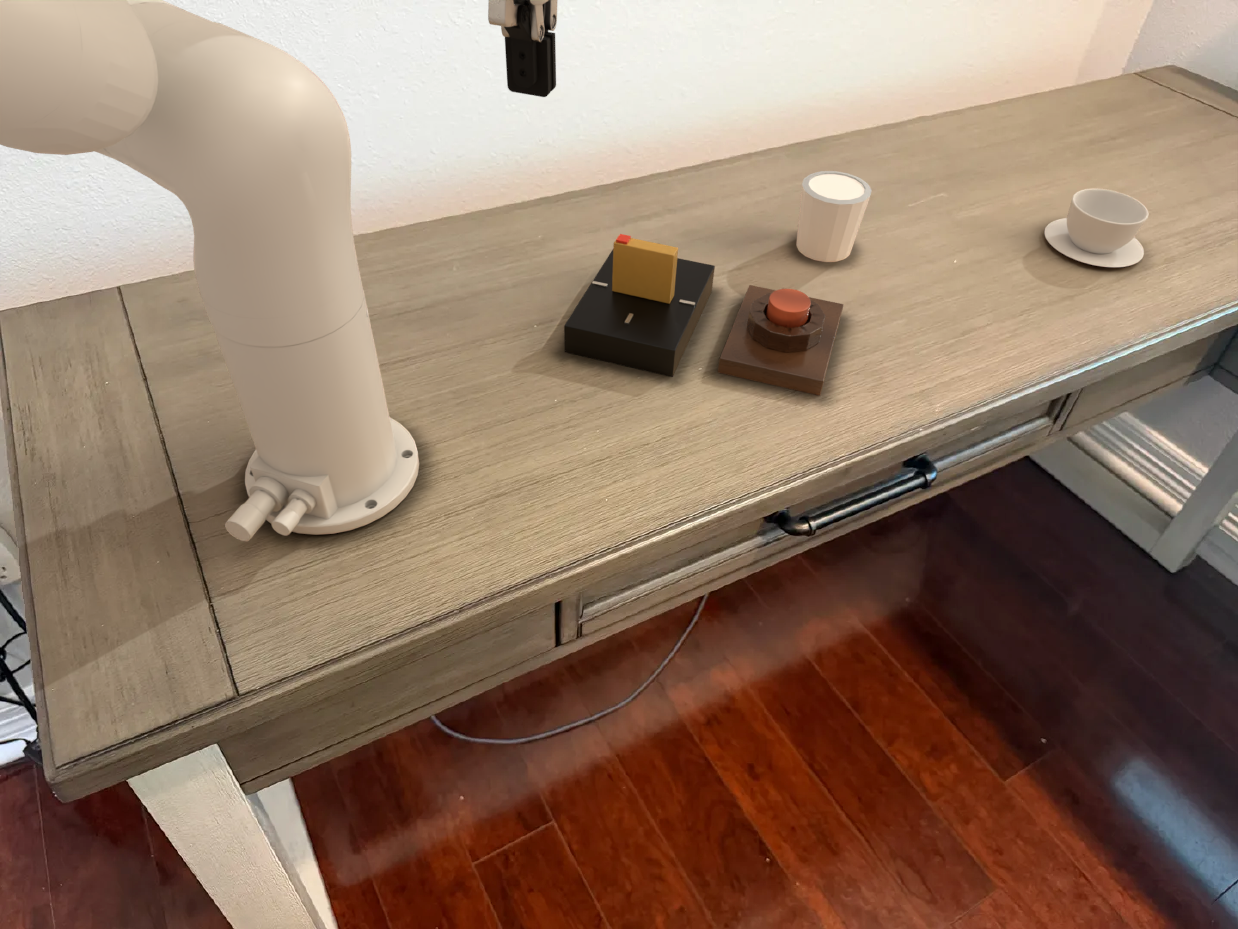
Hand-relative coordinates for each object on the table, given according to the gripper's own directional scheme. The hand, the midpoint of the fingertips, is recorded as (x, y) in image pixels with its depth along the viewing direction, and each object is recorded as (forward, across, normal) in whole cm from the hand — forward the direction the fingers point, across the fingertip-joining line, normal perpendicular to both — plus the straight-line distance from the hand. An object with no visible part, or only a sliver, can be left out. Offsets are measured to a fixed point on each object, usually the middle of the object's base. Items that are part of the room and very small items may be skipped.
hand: (532, 89), depth 66 cm
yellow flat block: (+19, +5, -8) cm, 21 cm away
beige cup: (+22, +24, -22) cm, 39 cm away
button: (+19, +6, -21) cm, 29 cm away
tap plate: (+22, +5, -8) cm, 24 cm away
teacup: (+22, +35, -49) cm, 64 cm away
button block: (+22, +6, -21) cm, 31 cm away
